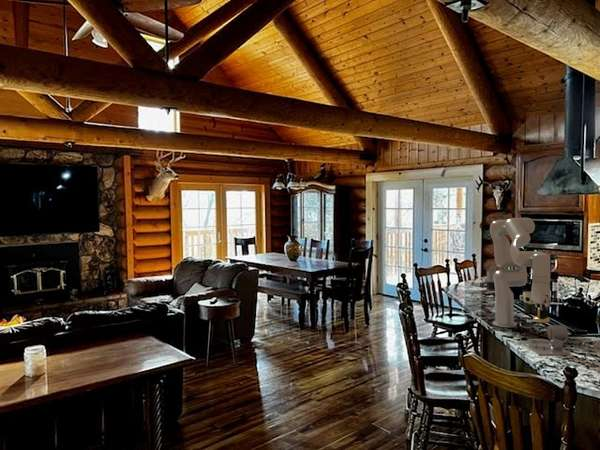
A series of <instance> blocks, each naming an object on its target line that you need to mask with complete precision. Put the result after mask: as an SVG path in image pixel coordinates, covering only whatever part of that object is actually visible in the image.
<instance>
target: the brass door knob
mask: <svg viewBox="0 0 600 450" xmlns="http://www.w3.org/2000/svg"><path fill="white" fill-rule="evenodd" d="M540 310H541V308H540V307H538V316H536V315H534V316H533V317H532V320H533V322H536V323H540V324H548V323H550V322H551V321H550V319H551V318H550V317H548V316H547V318H540Z"/></svg>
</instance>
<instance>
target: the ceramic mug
mask: <svg viewBox="0 0 600 450" xmlns="http://www.w3.org/2000/svg"><path fill="white" fill-rule="evenodd" d="M546 334H547V335H546V336H547V338H548V339H549V341H550V340H551V339H559V340H562V341H563V345H564V344H566V343H567V341H568V339H569V331H568V327H567V326H566V324H552V325H548V326H547V327H546Z"/></svg>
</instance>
